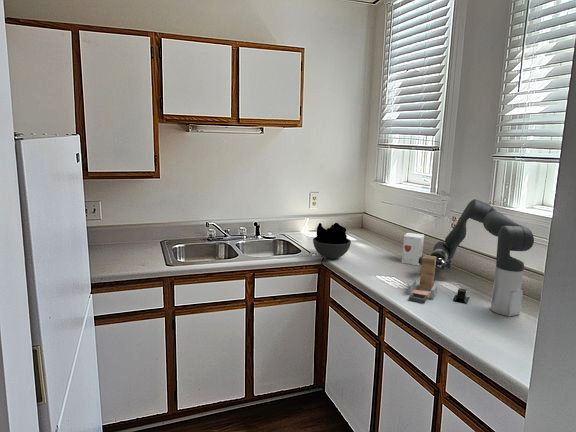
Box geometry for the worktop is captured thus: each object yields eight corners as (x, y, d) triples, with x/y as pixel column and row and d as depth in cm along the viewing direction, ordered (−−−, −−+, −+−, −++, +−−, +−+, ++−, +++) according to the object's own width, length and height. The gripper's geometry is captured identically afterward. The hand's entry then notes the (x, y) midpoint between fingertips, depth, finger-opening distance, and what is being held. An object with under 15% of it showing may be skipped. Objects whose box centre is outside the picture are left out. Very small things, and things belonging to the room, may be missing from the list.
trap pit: (412, 295, 175) (412, 292, 174) (427, 298, 172) (427, 295, 172) (408, 300, 170) (409, 296, 169) (424, 303, 167) (424, 300, 166)
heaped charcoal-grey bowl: (355, 257, 229) (357, 223, 226) (340, 266, 212) (342, 229, 209) (322, 251, 239) (323, 218, 236) (305, 259, 222) (307, 224, 219)
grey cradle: (412, 288, 184) (413, 279, 183) (437, 293, 179) (438, 284, 178) (407, 294, 176) (408, 285, 175) (433, 299, 171) (434, 290, 171)
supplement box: (400, 262, 222) (403, 235, 219) (404, 258, 230) (407, 232, 227) (418, 265, 218) (421, 237, 215) (421, 261, 225) (424, 234, 223)
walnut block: (421, 285, 188) (424, 254, 186) (433, 287, 186) (436, 256, 183) (419, 288, 184) (422, 257, 181) (431, 290, 182) (434, 259, 179)
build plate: (468, 307, 166) (469, 296, 165) (448, 303, 170) (449, 292, 169) (472, 297, 177) (473, 287, 176) (453, 294, 180) (454, 283, 179)
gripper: (424, 248, 208) (416, 255, 194) (454, 252, 201) (449, 260, 187) (422, 262, 210) (415, 271, 196) (453, 267, 203) (447, 276, 189)
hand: (432, 265), depth 192 cm, fingers open, 8 cm apart
